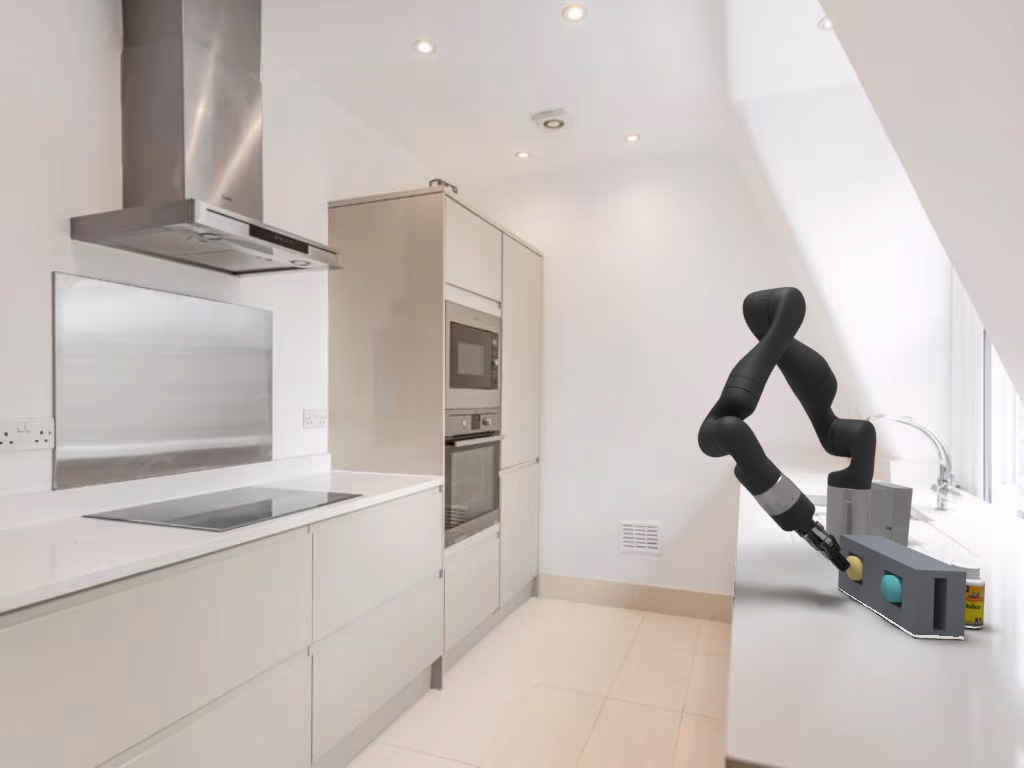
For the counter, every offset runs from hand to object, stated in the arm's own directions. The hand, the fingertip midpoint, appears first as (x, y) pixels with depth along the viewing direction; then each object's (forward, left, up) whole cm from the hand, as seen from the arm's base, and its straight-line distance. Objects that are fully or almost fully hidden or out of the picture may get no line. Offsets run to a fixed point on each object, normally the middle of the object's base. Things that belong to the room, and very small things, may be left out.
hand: (845, 567), depth 117 cm
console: (-2, +8, -6) cm, 10 cm away
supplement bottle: (-8, +17, -6) cm, 19 cm away
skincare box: (-56, -24, -6) cm, 61 cm away
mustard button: (-2, +1, -2) cm, 4 cm away
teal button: (+4, +12, -2) cm, 12 cm away
